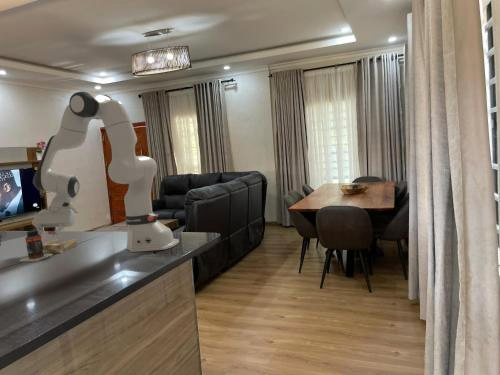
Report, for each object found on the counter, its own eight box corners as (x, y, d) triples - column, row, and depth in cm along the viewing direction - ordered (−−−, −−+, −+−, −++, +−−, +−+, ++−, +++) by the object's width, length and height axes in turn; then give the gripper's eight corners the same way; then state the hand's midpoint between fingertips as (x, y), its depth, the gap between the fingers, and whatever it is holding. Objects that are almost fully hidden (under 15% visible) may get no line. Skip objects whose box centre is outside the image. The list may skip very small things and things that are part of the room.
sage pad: (52, 254, 167) (52, 253, 167) (36, 261, 158) (36, 260, 158) (35, 255, 169) (35, 253, 169) (19, 261, 161) (18, 260, 161)
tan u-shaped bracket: (76, 246, 179) (75, 238, 179) (60, 252, 169) (59, 245, 169) (54, 246, 182) (53, 239, 182) (37, 253, 172) (36, 245, 172)
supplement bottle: (47, 254, 167) (43, 228, 165) (38, 258, 161) (34, 232, 159) (34, 255, 167) (30, 229, 166) (25, 259, 161) (21, 232, 160)
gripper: (36, 205, 179) (22, 231, 171) (74, 203, 174) (61, 229, 165) (45, 213, 184) (32, 238, 175) (82, 211, 178) (70, 237, 170)
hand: (46, 234), depth 170 cm, fingers open, 8 cm apart
